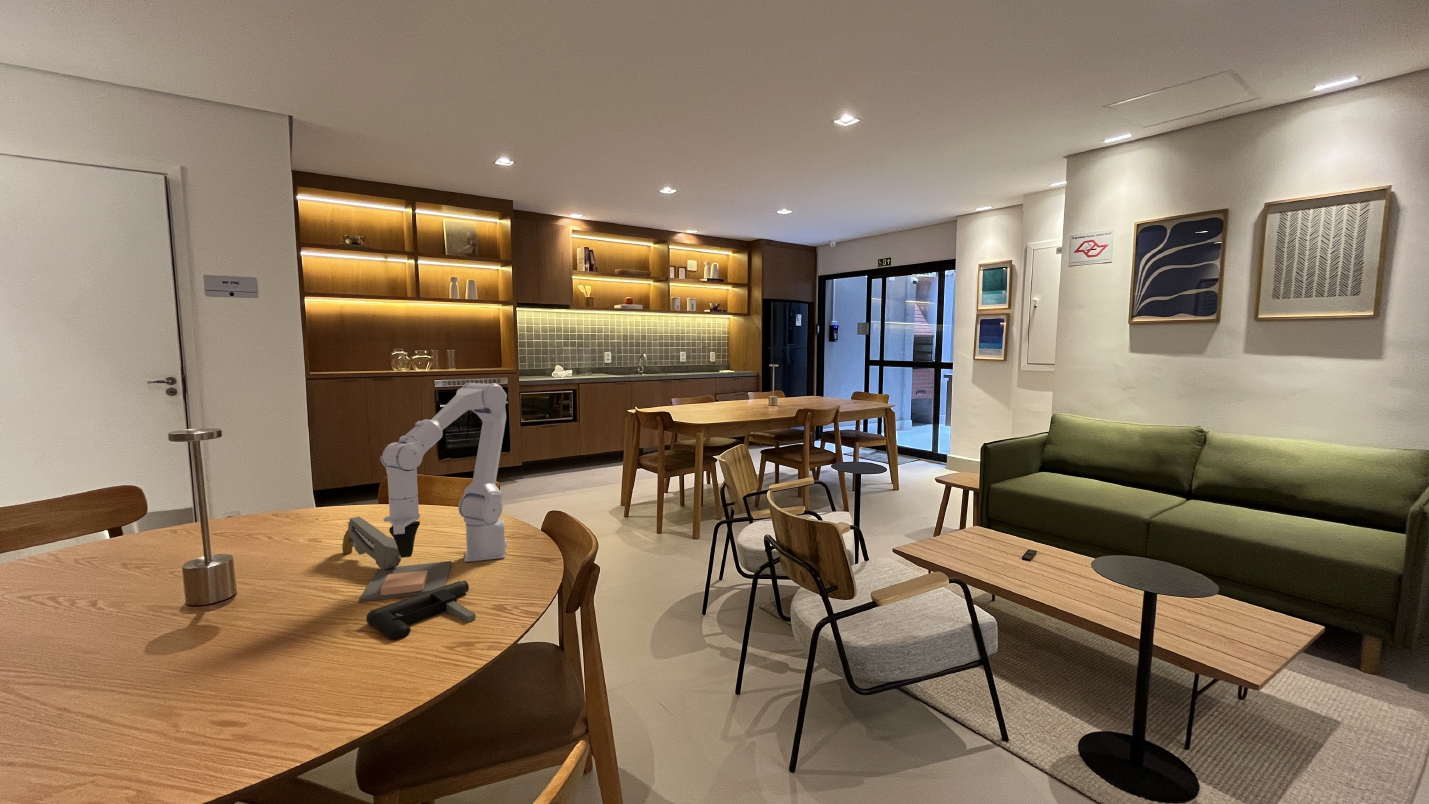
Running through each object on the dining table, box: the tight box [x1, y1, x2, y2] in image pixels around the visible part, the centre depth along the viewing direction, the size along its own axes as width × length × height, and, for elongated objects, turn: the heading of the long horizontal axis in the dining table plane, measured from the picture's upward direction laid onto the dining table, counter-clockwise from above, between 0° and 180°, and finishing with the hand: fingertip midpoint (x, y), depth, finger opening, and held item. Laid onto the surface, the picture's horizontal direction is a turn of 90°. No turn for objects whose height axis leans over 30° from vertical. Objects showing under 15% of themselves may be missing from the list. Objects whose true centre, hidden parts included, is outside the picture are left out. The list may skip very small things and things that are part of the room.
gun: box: [341, 516, 402, 570], centre depth 144 cm, size 3×25×15 cm, turn 56°
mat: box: [358, 560, 452, 603], centre depth 133 cm, size 16×18×1 cm
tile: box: [381, 570, 428, 596], centre depth 128 cm, size 8×2×8 cm
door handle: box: [365, 579, 476, 641], centre depth 115 cm, size 3×20×16 cm
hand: (406, 556), depth 130 cm, fingers closed
